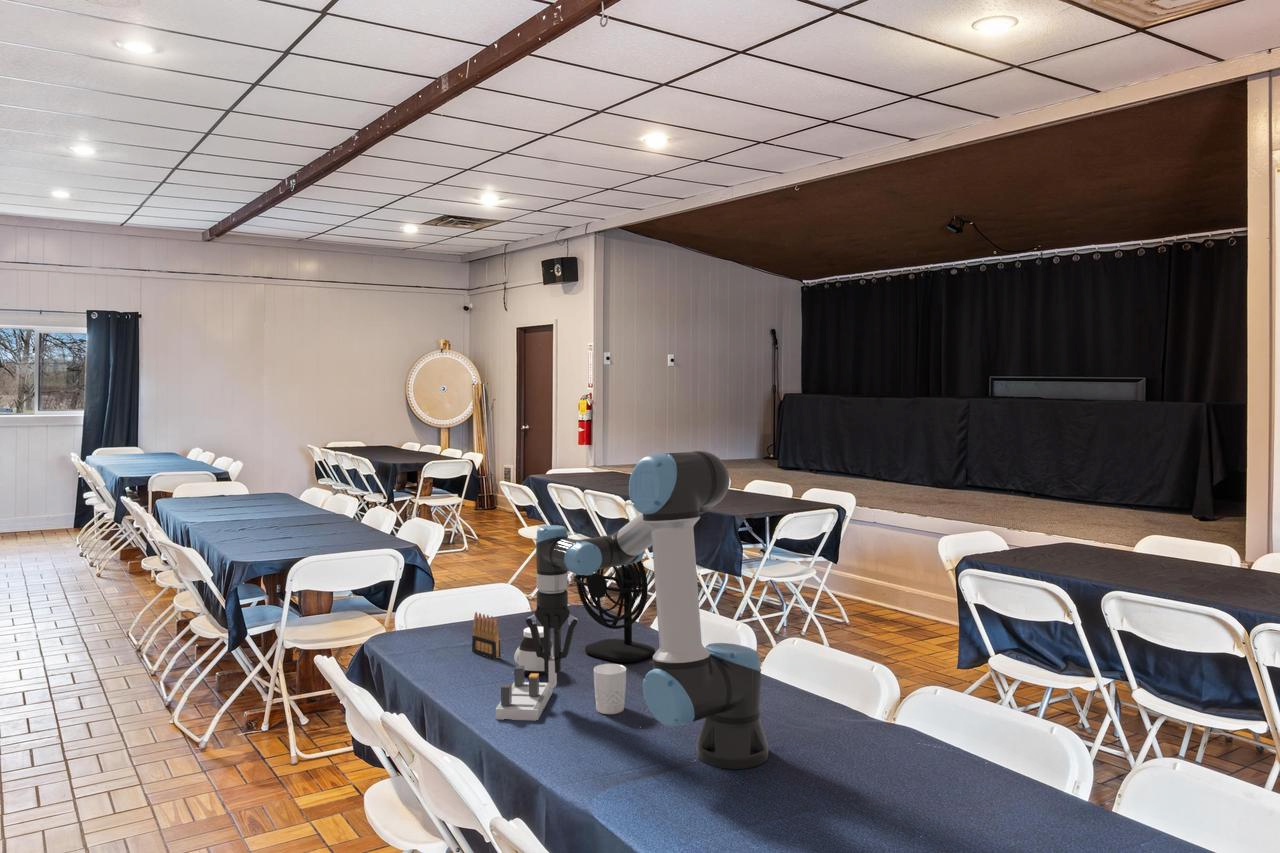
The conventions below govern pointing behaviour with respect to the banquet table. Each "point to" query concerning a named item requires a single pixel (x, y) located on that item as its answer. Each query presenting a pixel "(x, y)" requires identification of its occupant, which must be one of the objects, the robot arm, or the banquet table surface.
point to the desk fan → (627, 584)
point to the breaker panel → (525, 703)
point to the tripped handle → (534, 684)
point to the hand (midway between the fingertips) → (552, 685)
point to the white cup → (610, 688)
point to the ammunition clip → (485, 636)
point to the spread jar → (531, 653)
